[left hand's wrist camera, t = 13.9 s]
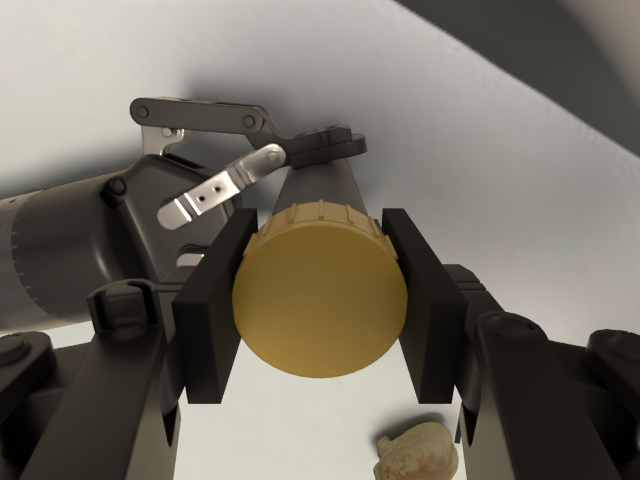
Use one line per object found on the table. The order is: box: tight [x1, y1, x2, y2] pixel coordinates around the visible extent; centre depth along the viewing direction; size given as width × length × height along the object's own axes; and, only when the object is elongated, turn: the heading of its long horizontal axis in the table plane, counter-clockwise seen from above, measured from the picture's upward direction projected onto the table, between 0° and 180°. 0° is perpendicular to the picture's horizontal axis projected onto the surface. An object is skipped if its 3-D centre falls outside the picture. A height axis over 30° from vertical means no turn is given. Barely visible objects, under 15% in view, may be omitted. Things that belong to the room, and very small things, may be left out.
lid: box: [232, 200, 408, 378], centre depth 11 cm, size 5×5×2 cm
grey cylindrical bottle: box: [272, 158, 369, 218], centre depth 18 cm, size 4×4×16 cm
